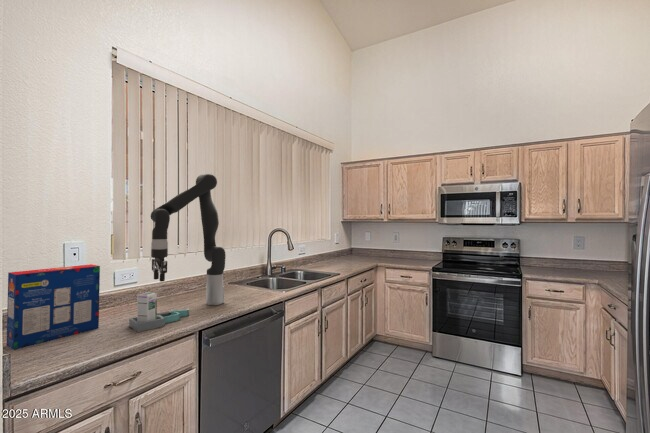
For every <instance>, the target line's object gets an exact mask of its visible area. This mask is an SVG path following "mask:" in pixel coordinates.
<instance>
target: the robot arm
mask: <svg viewBox="0 0 650 433" xmlns="http://www.w3.org/2000/svg"><path fill="white" fill-rule="evenodd" d="M217 185H218V179H217V178H216V176H215V175H214V174H212V173H204V174H200V175H199V174H198V176H197V177H196V179H195V185H193V186H192V187H190V188H188V189H186V190H185V191H183V192H181V193H178V194H177V195H176V196H174V197H172V198H171V199H170V200H168V201H167V202H166V203H163V204H162V205H160V206H158V207H156V208H155V209H154V210H152V211H151V213H150V219H151V220H152V221H153V222H154V227H153V228H152V231H151V246H150V248H151V249H150V254H151V255H150V256H151V271H152V272H153V280H159V282H160V283H161V282H165V281H166V280H165V279H166V274H167V273H168V260H165V258H167V257H168V255H169V254H168V252H169V251H168V250H169V246H168V245H169V243H168V242H169V241H168V230H169V225H170V219H171V217H170V216H171V215H173V214H176V213H178V212H179V211H181V210H182V209H184V207H186V206H188V205H189V204H191V203H192V202H193V201H194V200H196V199H197V198H198V199H199V200H198V201H199V209H200V220H201V225H202V226H201V227H202V233H203V234H202V235H203V255H204V258H205V260H206V261H208V262H210V263H211V265H210V267H209V268H208V269H207V270H206V283H205V284H206V287H205V289H206V290H205V294H206V295H205V297H206V298H205V305H207V306H219V305H222V304H224V303H225V286H224V270H225V268H226V250H225V248H223V247H221V246H217V245H216V235H217V231H218V228H219V225H220V224H219V222H220V221H219V214H218V210H217V208H216V206H215V204H214V202H213V199H212V192H211V191H212V190H213V189H215V188H216V187H217Z"/></svg>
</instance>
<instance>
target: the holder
mask: <svg viewBox="0 0 650 433" xmlns="http://www.w3.org/2000/svg"><path fill="white" fill-rule="evenodd" d="M128 321H129V323H128V324H129V325H128V326H129V328H132V329H133V330H134V331H135V332H136V333H139V332H144V331H148V330H154V329H157V328H162V327H165V323H164V318H163V317H161V316H159V315H157V320H152V321H147V322H142V323H138V322H137V316H134V317H129V320H128Z"/></svg>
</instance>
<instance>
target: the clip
mask: <svg viewBox="0 0 650 433" xmlns="http://www.w3.org/2000/svg"><path fill="white" fill-rule="evenodd" d="M159 316H161V315H159ZM161 317H162V316H161ZM163 318H164V324H168V323H172V322H177V321H181V317H180V314H179V313H177V312H175V315H170V316H166V317H163Z"/></svg>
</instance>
